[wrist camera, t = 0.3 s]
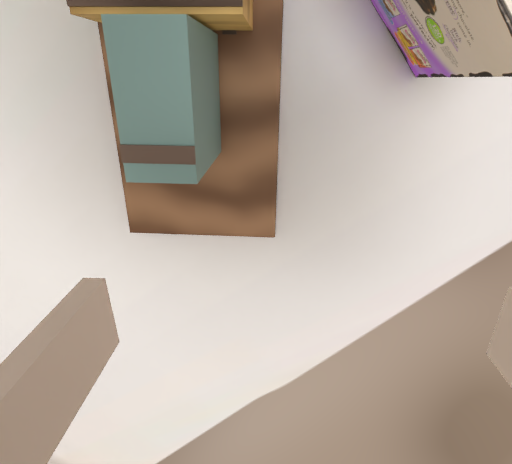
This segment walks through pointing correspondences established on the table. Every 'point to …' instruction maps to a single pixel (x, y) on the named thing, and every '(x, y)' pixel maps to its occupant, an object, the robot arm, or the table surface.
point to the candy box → (451, 35)
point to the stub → (164, 95)
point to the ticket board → (231, 121)
